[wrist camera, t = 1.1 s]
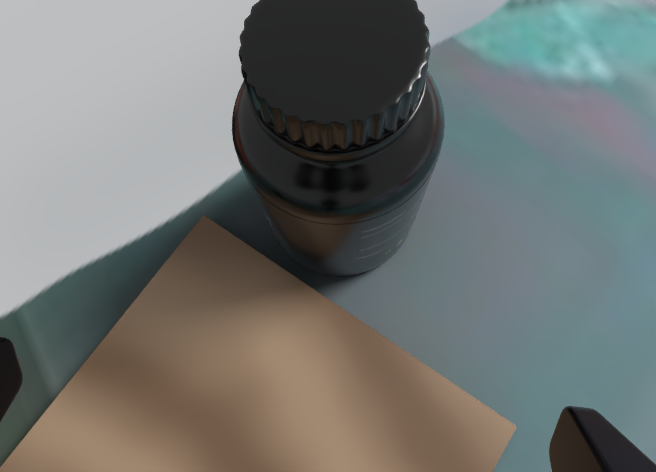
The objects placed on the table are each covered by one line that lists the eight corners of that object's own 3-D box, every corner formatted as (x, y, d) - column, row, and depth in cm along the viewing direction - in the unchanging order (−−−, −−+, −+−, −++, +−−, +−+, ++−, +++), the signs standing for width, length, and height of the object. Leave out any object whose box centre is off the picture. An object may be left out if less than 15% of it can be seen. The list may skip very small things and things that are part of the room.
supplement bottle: (241, 217, 23) (136, 48, 12) (336, 123, 25) (322, -109, 13) (348, 312, 22) (343, 220, 10) (443, 205, 23) (531, 20, 12)
